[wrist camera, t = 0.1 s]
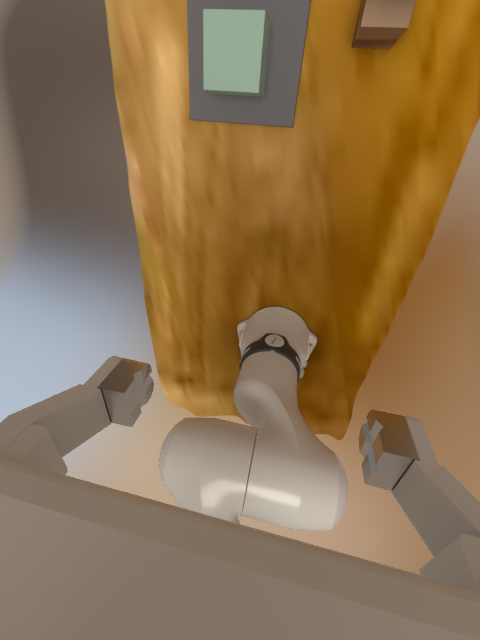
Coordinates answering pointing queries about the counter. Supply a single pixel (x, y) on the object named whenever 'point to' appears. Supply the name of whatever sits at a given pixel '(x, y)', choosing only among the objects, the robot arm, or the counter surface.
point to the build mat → (281, 72)
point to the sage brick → (235, 51)
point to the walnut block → (382, 22)
